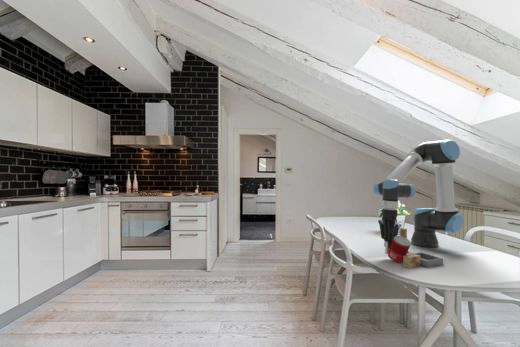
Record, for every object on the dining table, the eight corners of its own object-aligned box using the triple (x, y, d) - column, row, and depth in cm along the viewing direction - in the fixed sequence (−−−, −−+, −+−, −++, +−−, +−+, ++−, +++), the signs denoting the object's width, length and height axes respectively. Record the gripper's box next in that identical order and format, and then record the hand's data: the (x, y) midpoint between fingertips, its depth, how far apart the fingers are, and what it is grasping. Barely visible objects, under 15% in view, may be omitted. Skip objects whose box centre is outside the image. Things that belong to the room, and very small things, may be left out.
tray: (420, 257, 150) (420, 252, 150) (443, 264, 139) (443, 258, 139) (404, 260, 145) (404, 254, 145) (426, 267, 134) (426, 261, 134)
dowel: (402, 255, 154) (403, 228, 154) (408, 257, 151) (408, 229, 151) (398, 256, 153) (399, 228, 153) (403, 257, 150) (404, 229, 150)
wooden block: (414, 264, 139) (415, 254, 139) (420, 266, 136) (420, 255, 136) (403, 266, 136) (403, 255, 136) (408, 268, 133) (409, 257, 133)
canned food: (405, 264, 141) (413, 246, 136) (388, 260, 142) (395, 242, 137) (401, 254, 148) (408, 237, 143) (385, 251, 149) (392, 233, 144)
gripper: (375, 207, 152) (373, 250, 153) (394, 210, 141) (392, 257, 141) (385, 207, 155) (383, 249, 156) (405, 210, 143) (403, 256, 144)
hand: (387, 253), depth 148 cm, fingers closed
